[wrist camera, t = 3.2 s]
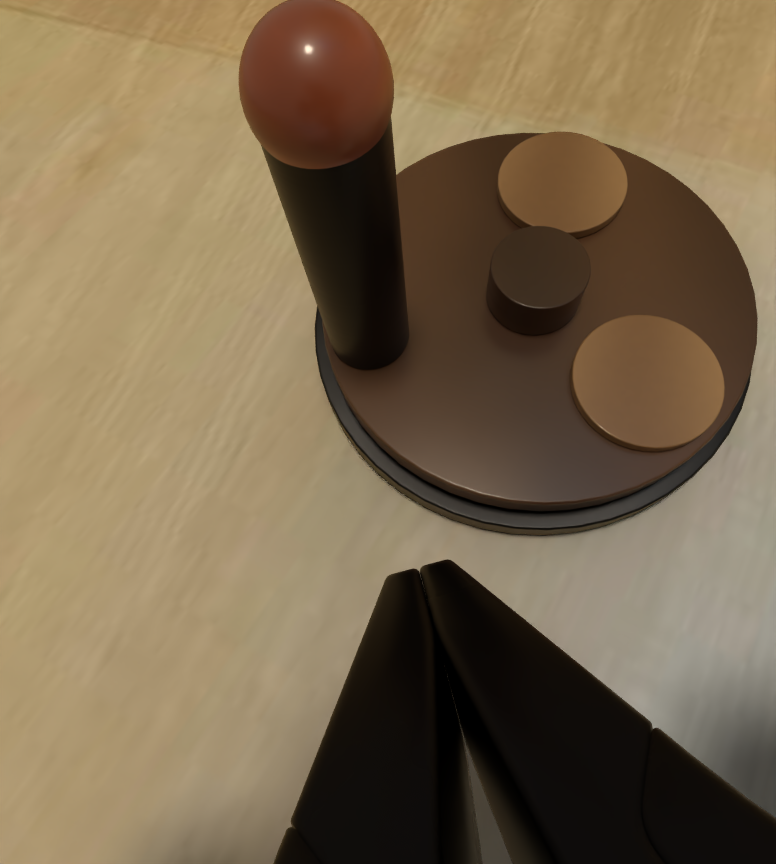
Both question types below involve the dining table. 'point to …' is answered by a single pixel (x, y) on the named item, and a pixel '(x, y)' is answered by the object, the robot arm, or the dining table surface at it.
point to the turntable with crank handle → (497, 282)
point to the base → (494, 515)
